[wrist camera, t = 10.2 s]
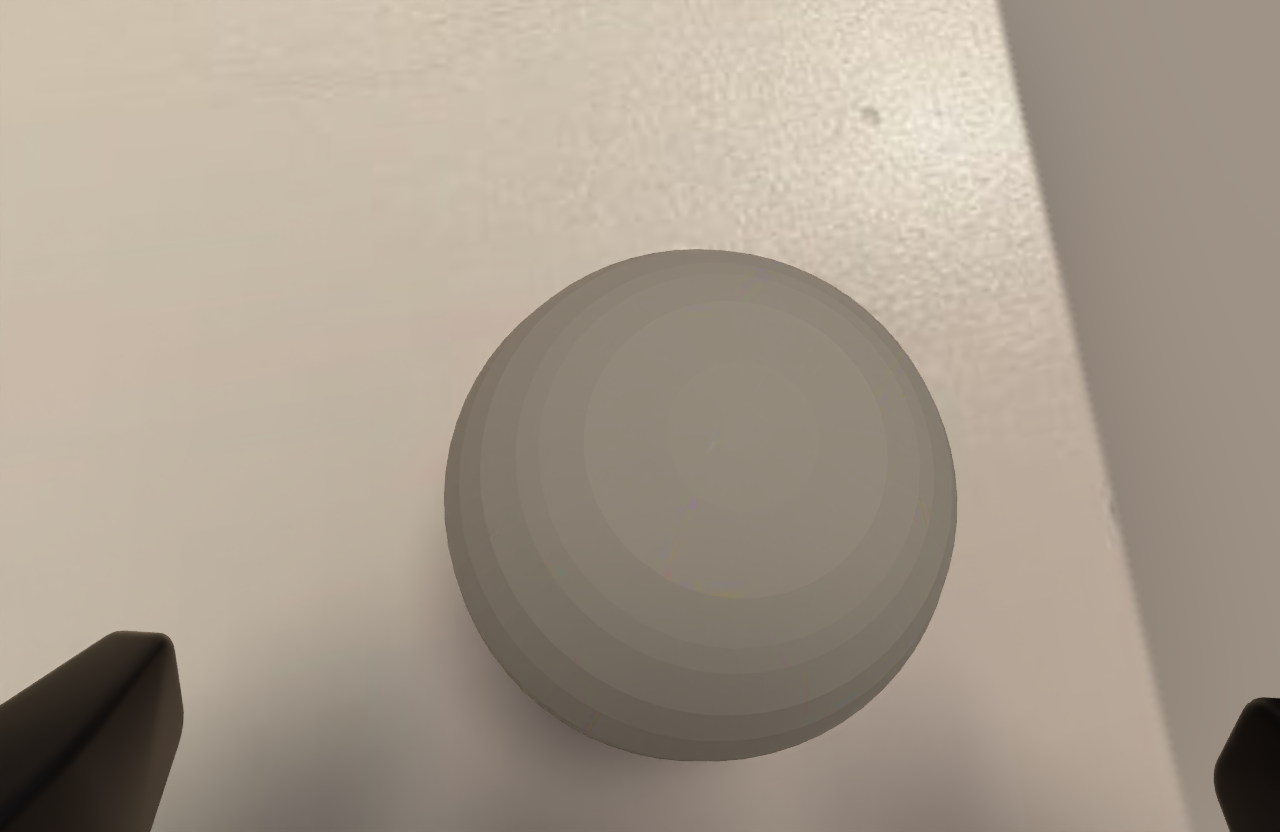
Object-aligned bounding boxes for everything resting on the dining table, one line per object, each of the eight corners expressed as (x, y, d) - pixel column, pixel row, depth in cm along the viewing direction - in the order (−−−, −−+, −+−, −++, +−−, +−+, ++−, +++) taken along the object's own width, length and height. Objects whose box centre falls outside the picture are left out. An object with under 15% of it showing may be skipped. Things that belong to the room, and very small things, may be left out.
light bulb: (481, 754, 17) (407, 792, 8) (481, 440, 19) (423, 141, 9) (799, 740, 18) (1108, 757, 8) (775, 437, 19) (1008, 152, 10)
